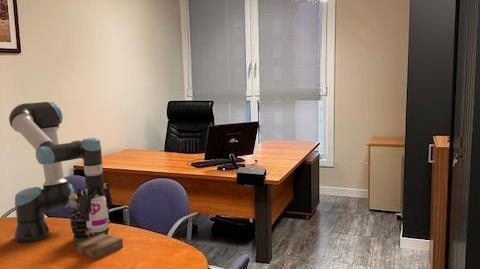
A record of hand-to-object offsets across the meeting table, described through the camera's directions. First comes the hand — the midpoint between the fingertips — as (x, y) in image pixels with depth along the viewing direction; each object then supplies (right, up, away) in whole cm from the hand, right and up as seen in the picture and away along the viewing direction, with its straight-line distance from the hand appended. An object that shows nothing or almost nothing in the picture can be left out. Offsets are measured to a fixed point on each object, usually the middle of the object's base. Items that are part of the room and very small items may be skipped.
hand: (98, 224), depth 186 cm
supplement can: (0, -2, 0) cm, 2 cm away
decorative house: (-9, -10, +17) cm, 22 cm away
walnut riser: (0, -12, +2) cm, 12 cm away
